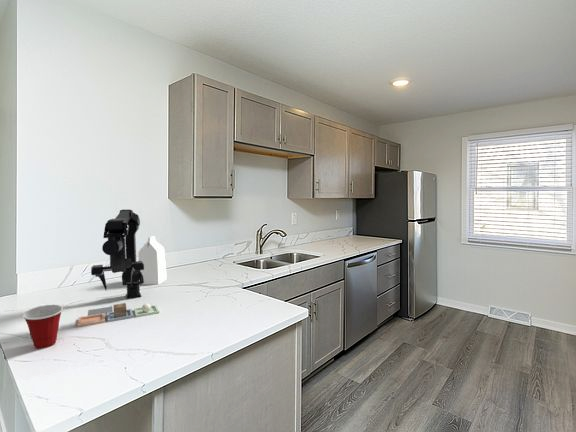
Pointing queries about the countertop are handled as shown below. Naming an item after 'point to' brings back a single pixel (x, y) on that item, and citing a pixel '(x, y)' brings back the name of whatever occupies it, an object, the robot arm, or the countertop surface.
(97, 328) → the countertop surface
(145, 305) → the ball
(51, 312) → the plastic cup
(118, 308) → the letter cube
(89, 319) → the dish terracotta
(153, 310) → the dish sage
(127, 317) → the dish slate
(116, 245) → the robot arm
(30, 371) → the countertop surface
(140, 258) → the milk
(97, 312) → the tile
